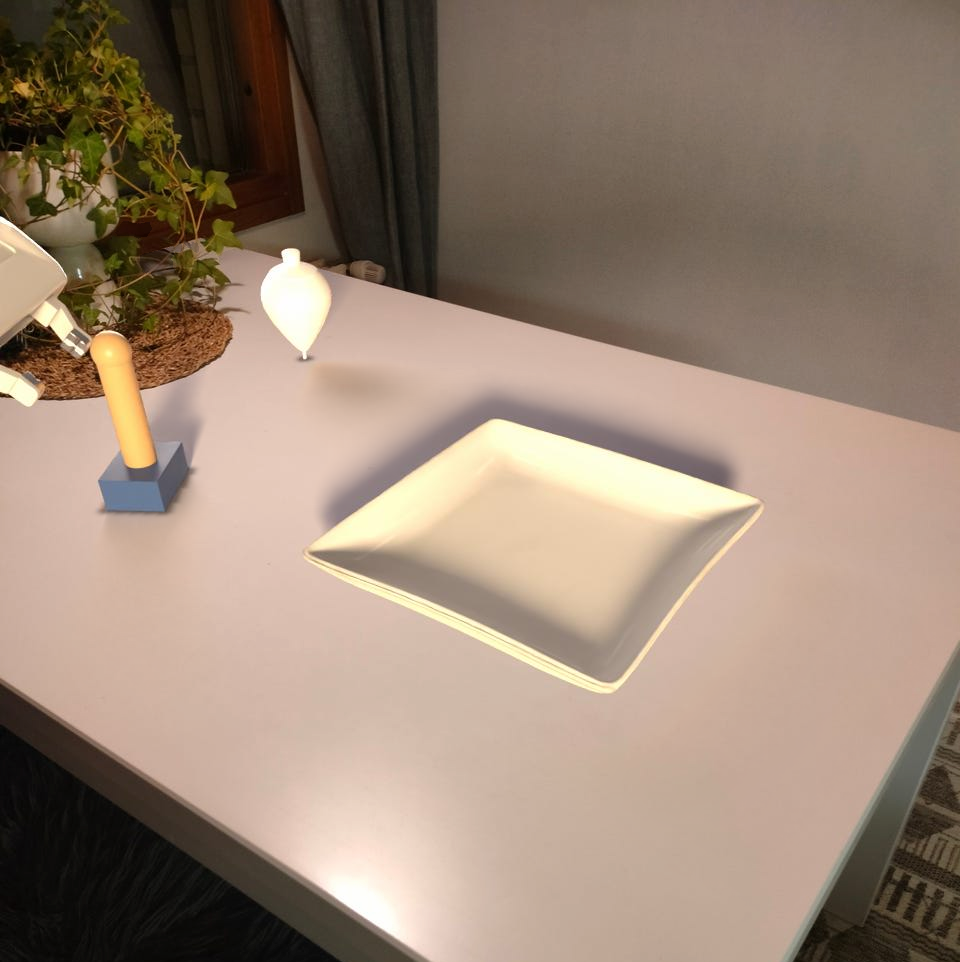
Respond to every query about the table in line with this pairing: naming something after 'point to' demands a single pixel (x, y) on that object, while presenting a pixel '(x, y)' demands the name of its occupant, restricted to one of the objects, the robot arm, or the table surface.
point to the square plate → (541, 547)
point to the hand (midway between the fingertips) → (63, 372)
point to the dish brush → (133, 436)
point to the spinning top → (296, 299)
